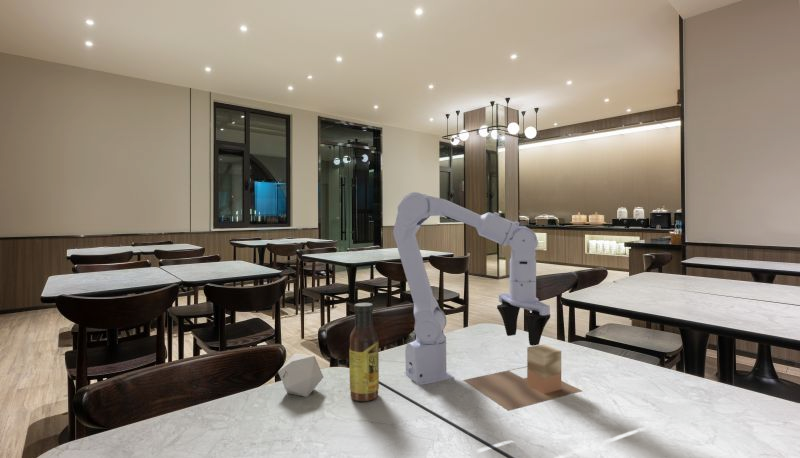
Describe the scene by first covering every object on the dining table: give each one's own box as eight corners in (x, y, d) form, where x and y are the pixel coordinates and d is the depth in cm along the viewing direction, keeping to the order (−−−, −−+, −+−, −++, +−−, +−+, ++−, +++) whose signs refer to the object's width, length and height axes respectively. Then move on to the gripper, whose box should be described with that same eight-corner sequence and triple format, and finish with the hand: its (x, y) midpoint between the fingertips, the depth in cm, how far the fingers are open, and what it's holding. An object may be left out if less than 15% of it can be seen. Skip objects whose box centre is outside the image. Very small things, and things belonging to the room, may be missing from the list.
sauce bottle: (374, 404, 82) (373, 308, 81) (345, 402, 83) (344, 307, 82) (382, 390, 88) (381, 301, 88) (355, 388, 90) (353, 300, 89)
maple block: (543, 377, 85) (543, 354, 85) (527, 369, 89) (527, 347, 89) (561, 373, 87) (561, 350, 87) (544, 365, 91) (544, 344, 91)
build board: (508, 412, 78) (508, 409, 78) (462, 381, 92) (462, 379, 92) (582, 392, 86) (582, 390, 86) (529, 367, 101) (529, 365, 101)
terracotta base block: (543, 393, 85) (543, 377, 85) (527, 384, 89) (527, 369, 89) (561, 389, 87) (561, 373, 87) (544, 380, 91) (544, 365, 91)
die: (285, 387, 92) (266, 362, 87) (318, 362, 96) (302, 337, 90) (299, 413, 86) (280, 388, 80) (334, 386, 89) (318, 360, 84)
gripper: (560, 283, 85) (560, 346, 85) (515, 274, 98) (514, 329, 98) (535, 286, 82) (534, 351, 82) (491, 276, 95) (491, 332, 96)
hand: (522, 339), depth 90 cm, fingers open, 7 cm apart
